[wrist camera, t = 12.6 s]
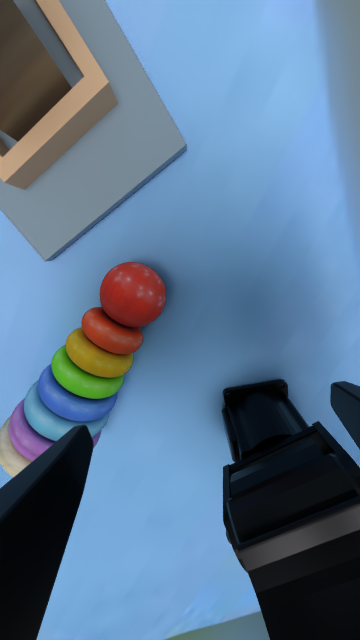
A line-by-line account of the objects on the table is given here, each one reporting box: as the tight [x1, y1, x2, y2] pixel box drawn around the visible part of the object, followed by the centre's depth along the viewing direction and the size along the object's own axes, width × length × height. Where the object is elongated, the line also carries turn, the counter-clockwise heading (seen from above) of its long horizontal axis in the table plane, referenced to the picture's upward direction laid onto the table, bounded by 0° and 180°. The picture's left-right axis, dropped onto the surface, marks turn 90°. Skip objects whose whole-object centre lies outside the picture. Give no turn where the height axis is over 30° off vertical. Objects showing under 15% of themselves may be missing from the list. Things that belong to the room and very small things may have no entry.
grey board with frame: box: [0, 0, 187, 261], centre depth 14 cm, size 18×14×3 cm
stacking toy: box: [0, 262, 166, 477], centre depth 18 cm, size 8×8×19 cm
